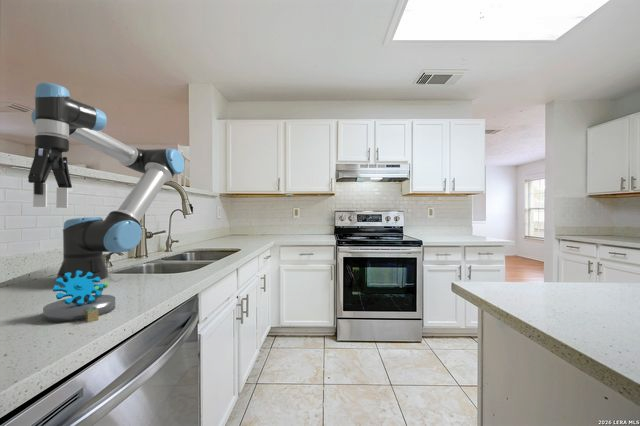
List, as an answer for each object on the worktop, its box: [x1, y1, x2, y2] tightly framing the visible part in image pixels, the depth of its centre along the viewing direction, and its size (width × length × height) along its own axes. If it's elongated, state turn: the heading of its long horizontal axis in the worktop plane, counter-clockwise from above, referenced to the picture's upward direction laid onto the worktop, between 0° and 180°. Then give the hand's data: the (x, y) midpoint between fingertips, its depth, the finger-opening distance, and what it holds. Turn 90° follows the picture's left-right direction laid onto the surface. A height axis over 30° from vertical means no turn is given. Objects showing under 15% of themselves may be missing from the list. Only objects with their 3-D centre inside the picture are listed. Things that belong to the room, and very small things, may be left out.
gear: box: [52, 270, 109, 305], centre depth 74 cm, size 11×6×10 cm
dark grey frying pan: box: [42, 294, 116, 324], centre depth 72 cm, size 17×14×2 cm
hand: (52, 207), depth 88 cm, fingers open, 13 cm apart
